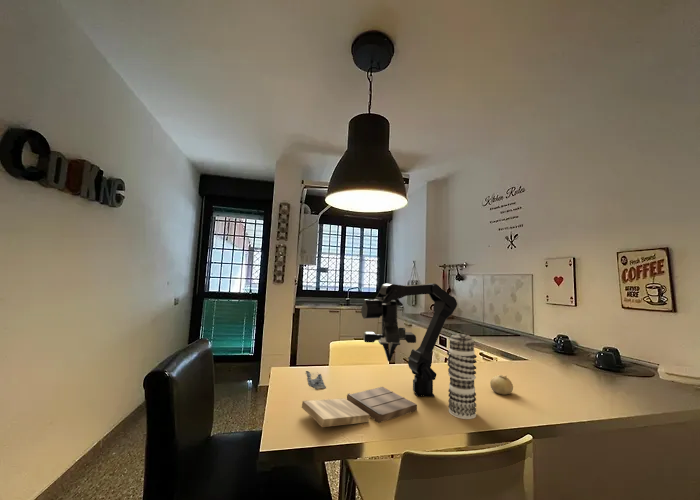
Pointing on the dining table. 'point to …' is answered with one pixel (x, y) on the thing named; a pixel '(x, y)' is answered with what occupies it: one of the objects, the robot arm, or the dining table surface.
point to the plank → (334, 412)
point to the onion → (501, 384)
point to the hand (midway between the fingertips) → (389, 361)
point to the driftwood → (315, 381)
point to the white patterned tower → (462, 376)
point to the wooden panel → (382, 403)
